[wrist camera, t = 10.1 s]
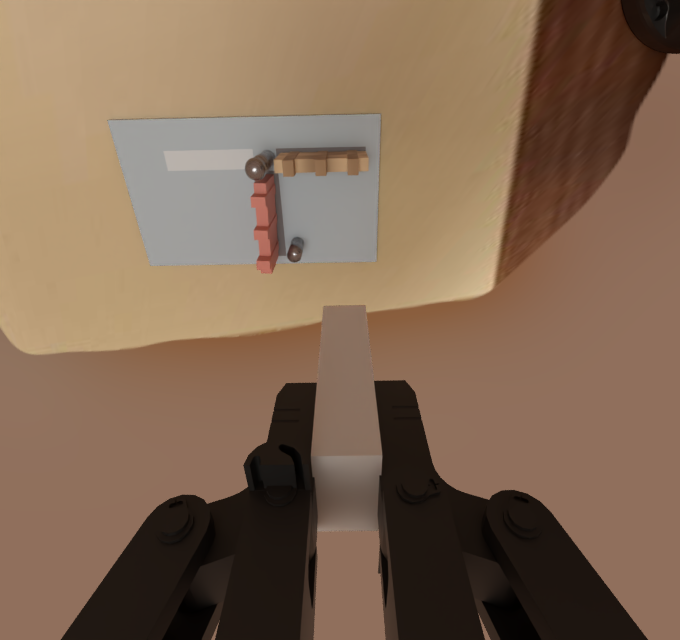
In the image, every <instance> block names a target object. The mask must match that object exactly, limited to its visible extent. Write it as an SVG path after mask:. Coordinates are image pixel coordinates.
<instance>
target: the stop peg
mask: <svg viewBox="0 0 680 640" xmlns="http://www.w3.org/2000/svg"><path fill="white" fill-rule="evenodd" d="M303 248H304V241H303V239H302V238H300V237H295V238H293V239H292V241H291V244H290V247H289V250H288V253H287V258H288V260H289V261H291V262H294V263H295V262H298V261H300V259H301V257H302V252H303Z"/></svg>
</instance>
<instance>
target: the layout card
mask: <svg viewBox="0 0 680 640" xmlns="http://www.w3.org/2000/svg"><path fill="white" fill-rule="evenodd" d="M107 121H108V124H109V128H110V131H111V134H112V138H113V141H114V145H115V148H116V151H117V155H118V158H119V161H120V165H121V168H122V172H123V175H124V178H125V182H126V185H127V188H128V192H129V195H130V199H131V202H132V205H133V209H134V212H135V215H136V219H137V222H138V226H139V229H140V232H141V236H142V239H143V242H144V246H145V249H146V253H147V256H148V259H149V263H150V266H168V265H223V264H256V260H257V258H258V257H259V255H260V254H259V242H258V240H254V231H253V230H254V229H255V227H256V226H257V219H256V208H251V198H250V197H251V196H252V195H253V194H254V184H253V183H254V182H255V181H254V180H251V179H250V178H249V177H248V176H247V175H246V173H245V164H246V162H247V161H248V160H249V159H250V158H254V157H255V156H256V155H258V154H259V153H261V152H262V151H263V150H270V151H272V152H273V153H274V154H275V156H276V157H277V156H278V155H279V154H280V153H289V152H295V151H299V152H318V151H328V152H342V151H347V150H356V151H366V153H367V155H368V157H369V171H359V175H348V172H327V175H326V176H316V175H315V172H310V173H296V174H295V176H294V177H283V173H275V171H274V166H273V167H272V168H271V169H270V170H269V171H268V172H267V173H266V174H274V184H275V190H276V194H275V205H276V214H277V239H278V242H279V250H278V256H279V257H278V259H277V262H276V264H278V263H294V262H291V261H289V260H288V258H287V253H288V250H289V247H290V244H291V241H292V239H293V238H295V237H300V238H302V239H303V241H304V248H303V252H302V257H301V259H300V261H298V262H295V263H332V262H376V257H377V225H378V192H379V159H380V126H381V114H346V115H302V116H259V117H216V118H173V119H130V120H107Z"/></svg>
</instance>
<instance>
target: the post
mask: <svg viewBox="0 0 680 640" xmlns="http://www.w3.org/2000/svg"><path fill="white" fill-rule="evenodd" d="M275 158H276V156H275V154H274V153H273V152H272V151H270V150H263V151H262V152H261V153H259V154H258V155H256V156H255V157H254V158H250V159H249V160H248V161H247V162H246V164H245V173H246V175H247V176H248V177H249V178H250V179H251V180H254V181H259V180H261V179H263V178H264V177H265V175H266V173H267V172H268V171H269V170H270V169H271V168H272V167H273V166H274V161H273V160H274V159H275Z"/></svg>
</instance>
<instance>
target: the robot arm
mask: <svg viewBox="0 0 680 640" xmlns="http://www.w3.org/2000/svg"><path fill="white" fill-rule="evenodd" d="M622 6H623V11H624V14H625V17H626V20H627V22H628V24H629V26H630V28H631V30H632V31H633V33H634V34H635V35H636V37H637V38H638V39H639V40H640V41H641V42H643V43H644V44H645V45H647V46H648V47H650V48H652V49H654V50H657V51H660V52H664V53H671V54H679V53H680V0H622ZM243 466H244V470H245V474H246V479H247V483H248V487H247V488H246V489H244V490H243V491H241V492H240V493H238V494H235V495H233V496H231V497H228V498H225V499H222V500H218V501H215V502H212V503H209V504H207V503H206V502H205V500H204V499H202V498H200V497H197V496H195V495H180V496H177V497H174V498H170V499H169V500H167V501H165V502H164V503H162V504H161V505H159V506H158V507H157V508H156V509H155V510H154V511H153V512H152V513H151V514H150V515H149V516H148V517H147V519H146V520H145V522H144V523H143V524H142V526H141V527H140V528H139V530H138V531H137V533H136V534H135V536H134V537H133V538H132V540H131V541H130V543H129V544H128V545H127V547H126V548H125V550H124V551H123V553H122V554H121V555H120V557H119V558H118V560H117V561H116V562H115V564H114V565H113V567H112V568H111V569H110V571H109V572H108V574H107V575H106V576H105V578H104V579H103V581H102V582H101V584H100V585H99V586H98V588H97V589H96V591H95V592H94V593H93V595H92V596H91V598H90V599H89V601H88V602H87V603H86V605H85V606H84V608H83V609H82V610H81V612H80V613H79V615H78V616H77V618H76V619H75V620H74V622H73V623H72V625H71V626H70V627H69V629H68V630H67V632H66V633H65V635H64V636H63V637H62V639H61V640H211V638H212V636H213V634H214V631H215V629H216V626H217V624H218V622H219V625H218V629H217V634H216V638H215V640H313V635H314V615H315V594H316V574H317V547H316V540H317V531H378V529H379V538H380V551H379V568H378V573H381V584H382V598H383V610H384V623H385V635H386V640H485V638H484V634H483V630H482V627H481V623H480V619H479V615H480V617H481V619H482V622H483V624H484V626H485V628H486V630H487V632H488V635H489V637H490V639H491V640H648V639H647V638H646V637H645V635H644V634H643V633H642V631H641V630H640V629H639V627H638V626H637V625H636V623H635V622H634V621H633V620H632V618H631V617H630V616H629V614H628V613H627V612H626V610H625V609H624V608H623V606H622V605H621V604H620V603H619V601H618V600H617V598H616V597H615V596H614V595H613V593H612V592H611V591H610V589H609V588H608V587H607V585H606V584H605V583H604V581H603V580H602V579H601V577H600V576H599V575H598V573H597V572H596V571H595V570H594V568H593V567H592V566H591V564H590V563H589V562H588V560H587V559H586V558H585V556H584V555H583V554H582V552H581V551H580V550H579V549H578V547H577V546H576V545H575V543H574V542H573V541H572V539H571V538H570V537H569V535H568V534H567V533H566V531H565V530H564V529H563V528H562V526H561V525H560V524H559V522H558V521H557V520H556V518H555V517H554V516H553V514H552V513H551V512H550V511H549V510H548V509H547V508H546V507H545V506H544V505H543V504H542V503H541V502H540V501H538V500H537V499H535V498H533V497H532V496H530V495H528V494H526V493H523V492H519V491H515V490H505V491H500V492H498V493H496V494H494V495H492V497H491V498H490V500H488V499H484V498H481V497H477V496H474V495H470V494H467V493H464V492H461V491H459V490H456V489H455V488H453V487H451V486H450V485H448V484H447V483H446V482H445V481H444V480H443V479H442V478H440V476H439V475H438V473H437V472H436V471H435V468H434V466H433V463H432V459H431V456H430V451H429V448H428V443H427V439H426V435H425V431H424V427H423V423H422V420H421V415H420V411H419V409H418V403H417V399H416V394H415V392H414V390H413V389H412V388H411V387H410V386H409V385H408V383H407V382H406V381H405V380H402V381H374V377H373V369H372V361H371V351H370V342H369V333H368V324H367V315H366V306H365V305H347V306H323V318H322V331H321V342H320V354H319V365H318V378H317V383H286V384H285V386H284V387H283V388H282V390H281V391H280V392H279V393H278V395H277V397H276V402H275V407H274V412H273V416H272V423H271V425H270V430H269V435H268V440H267V442H266V443H264V444H262V445H260V446H258V447H257V448H256V449H255V450H253V451H252V453H250V454H249V455H248V457H247V459H246V461H245V463H244V465H243ZM478 613H479V615H478ZM219 620H220V621H219Z"/></svg>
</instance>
